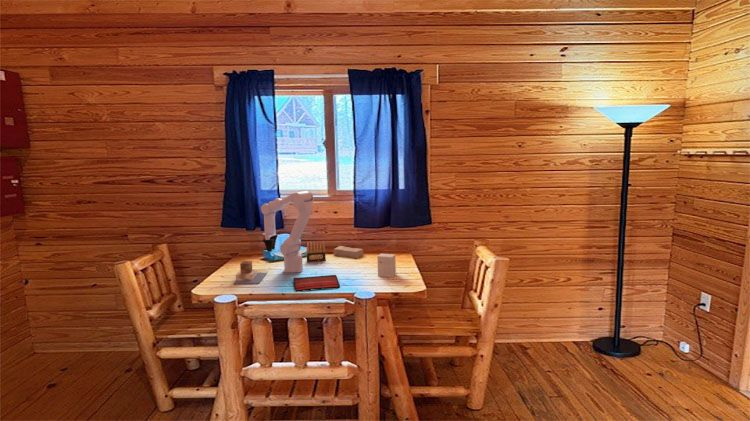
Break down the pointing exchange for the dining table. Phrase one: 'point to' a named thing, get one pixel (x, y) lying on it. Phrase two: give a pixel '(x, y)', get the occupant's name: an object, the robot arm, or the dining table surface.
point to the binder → (316, 282)
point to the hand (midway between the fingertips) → (271, 250)
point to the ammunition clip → (316, 252)
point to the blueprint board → (255, 281)
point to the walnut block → (246, 267)
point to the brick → (348, 252)
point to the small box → (386, 265)
